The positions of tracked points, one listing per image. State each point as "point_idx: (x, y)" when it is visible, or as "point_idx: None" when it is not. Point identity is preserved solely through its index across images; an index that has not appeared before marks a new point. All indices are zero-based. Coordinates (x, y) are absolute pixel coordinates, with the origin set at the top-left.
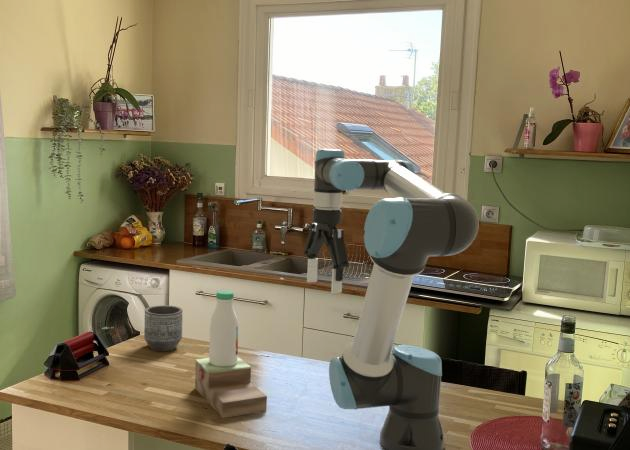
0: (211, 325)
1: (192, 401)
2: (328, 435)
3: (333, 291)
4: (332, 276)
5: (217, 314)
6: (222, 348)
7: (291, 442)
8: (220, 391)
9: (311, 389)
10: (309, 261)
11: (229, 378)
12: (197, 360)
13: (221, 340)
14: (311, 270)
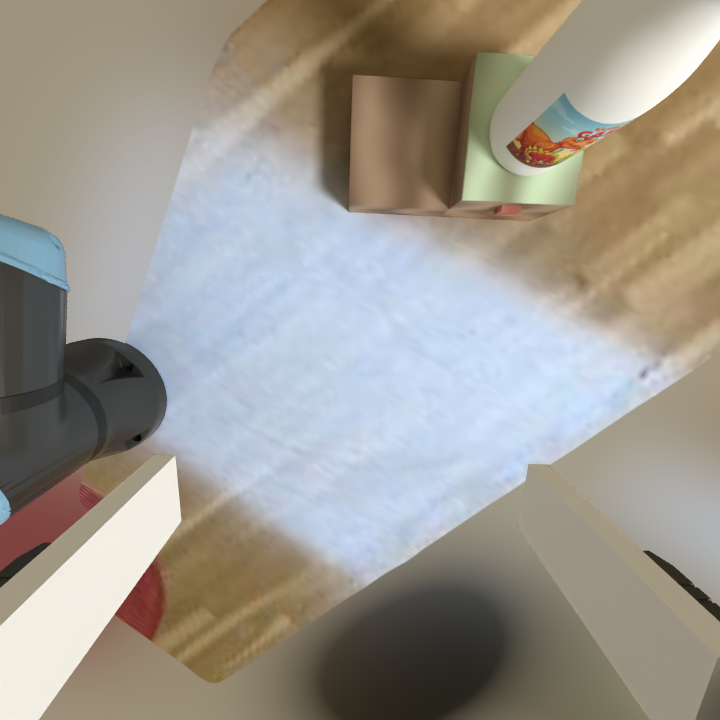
0: None
1: None
2: (191, 273)
3: (144, 468)
4: (66, 551)
5: None
6: (523, 73)
7: (185, 184)
8: (425, 102)
9: (415, 363)
10: (681, 625)
11: (461, 138)
12: None
13: (542, 48)
14: (584, 554)
